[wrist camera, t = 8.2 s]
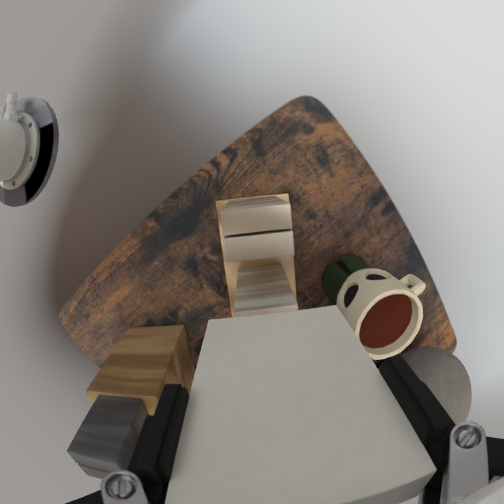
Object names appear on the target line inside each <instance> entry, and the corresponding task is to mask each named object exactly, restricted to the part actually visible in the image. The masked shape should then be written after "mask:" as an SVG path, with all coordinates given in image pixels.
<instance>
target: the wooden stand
mask: <svg viewBox="0 0 504 504" xmlns="http://www.w3.org/2000/svg"><path fill="white" fill-rule="evenodd" d="M195 371H196V370H195V366H194V362H193V359H192V355H191V351H190V347H189V343H188V339H187V335H186V331H185V327H184V325H170V326H148V327H130V328H129V329H128V331H127V332H126V333H125V335H124V336H123V338H122V339H121V340H120V342H119V343H118V345H117V346H116V347H115V349H114V350H113V352H112V353H111V355H110V356H109V357H108V359H107V360H106V362H105V363H104V365H103V366H102V368H101V369H100V371H99V372H98V374H97V375H96V377H95V378H94V380H93V381H92V383H91V384H90V386H89V387H88V389H87V390H86V391H87V393H88V395H89V397H90V399H91V401H92V403H93V405H92V407H91V409H90V410H89V412H88V414H87V415H86V417H85V419H84V421H83V422H82V424H81V426H80V428H79V429H78V431H77V433H76V435H75V437H74V438H73V440H72V442H71V444H70V446H69V448H68V449H67V452H68V453H69V455H70V456H71V457H72V458H73V459H74V460H75V462H76V463H78V465H79V466H80V467H81V468H82V470H83V471H84V472H85V473H86V474H87V475H89V476H93V477H96V478H100V479H103V478H104V477H105V476H106V475H107V474H109V473H110V472H112V471H115V470H128V467H129V464H130V461H131V458H132V455H133V453H134V450H135V447H136V444H137V442H138V439H139V436H140V433H141V431H142V428H143V425H144V423H145V420H146V418H147V417H148V416H149V415H154V412H155V410H156V407H157V404H158V401H159V399H160V396H161V393H162V390H163V388H164V385H165V384H181V385H182V387H186V388H187V390H188V393H189V395H190V391H191V387H192V383H193V379H194V375H195Z"/></svg>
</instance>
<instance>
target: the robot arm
mask: <svg viewBox="0 0 504 504" xmlns="http://www.w3.org/2000/svg"><path fill="white" fill-rule="evenodd" d="M16 99H17V93H10V94H8V95H7V102H6V106H7V108H6V106H1V107H0V185H1V186H2V187H3V188H5V189H8V190H13V189H17V188H20V187H21V186H23V185H24V184H25V183H26V182H27V181H28V179H29V178H30V176H31V174H32V173H33V171H34V168H35V166H36V163H37V160H38V156H39V150H40V131H39V127H38V124H37V122H36V120H35V119H34V117H32V116H31V115H30V114H26V113H17V110H15V107H16V101H17V100H16ZM380 374H381V376H382V377H383V379H384V380H385V382H386V384H387V385H388V387H389V389H390V390H391V392H392V394H393V395H394V397H395V399H396V400H397V402H398V404H399V405H400V407H401V409H402V410H403V412H404V414H405V415H406V417H407V419H408V420H409V422H410V424H411V426H412V427H413V429H414V431H415V433H416V434H417V436H418V438H419V440H420V441H421V443H422V444H423V446H424V447H425V449H426V451H427V453H428V454H429V456H430V458H431V460H432V462H433V464H434V465H435V467H436V469H437V471H436V472H435V474H434V475H433V476H432V478H431V479H430V480H429V482H428V483H427V484H426V486H425V487H424V488H423V489H422V491H421V492H420V493H419V499H418V504H504V439H499V438H492V437H486V435H485V431H484V429H483V428H482V427H481V426H480V425H479V424H478V423H475V422H472V421H465V422H461V423H459V424H457V425H456V424H455V423H454V422H453V420H452V419H451V417H450V416H449V415H448V413H447V412H446V411H445V409H444V408H443V406H442V405H441V404H440V402H439V401H438V400H437V398H436V397H435V396H434V394H433V393H432V392H431V390H430V389H429V388H428V386H427V385H426V384H425V383H424V382H423V381H421V380H420V379H419V378H418V376H417V375H416V374H415V373H414V371H413V370H412V369H411V367H410V366H409V365H408V363H407V362H406V361H405V360H404V358H403V357H402V356H401V355H395V356H392V357H388V358H386V359H385V361H384V362H383V363H381V366H380ZM189 397H190V396H189V393H188V390H187V388H186V387H182V385H181V384H165V385H164V388H163V390H162V393H161V396H160V399H159V401H158V404H157V407H156V410H155V412H154V415H149V416H148V417H147V418H146V420H145V423H144V425H143V428H142V431H141V433H140V436H139V439H138V442H137V444H136V447H135V450H134V453H133V455H132V458H131V461H130V464H129V467H128V470H115V471H112V472H110V473H109V474H107V475H106V476H105V477H104V478H103V480H102V482H101V490H99V491H97V492H94V493H92V494H89V495H87V496H84V497H82V498H79V499H77V500H74V501H71V502H68V503H66V504H165V499H166V494H167V490H168V485H169V481H170V479H171V474H172V470H173V465H174V461H175V456H176V452H177V447H178V443H179V439H180V434H181V430H182V426H183V422H184V417H185V413H186V409H187V405H188V401H189Z"/></svg>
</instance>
